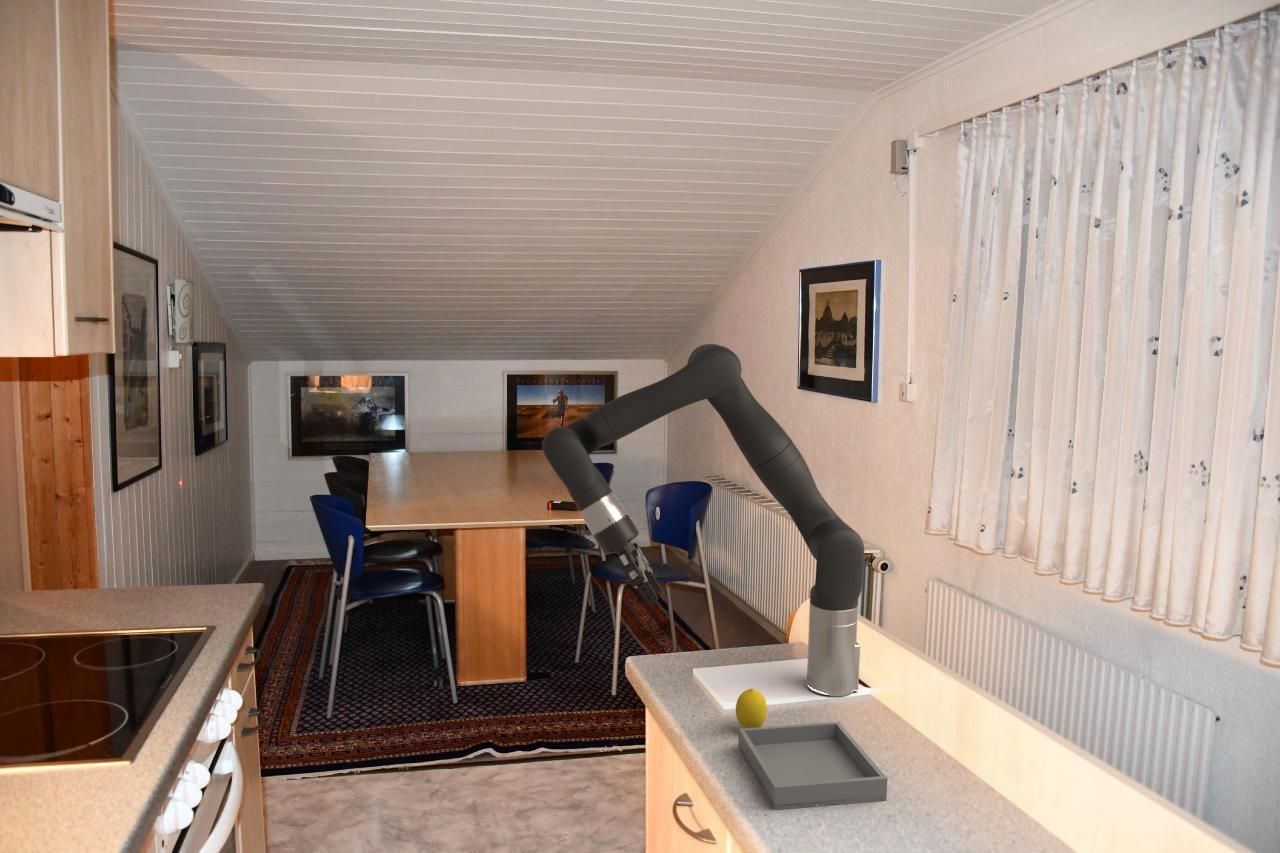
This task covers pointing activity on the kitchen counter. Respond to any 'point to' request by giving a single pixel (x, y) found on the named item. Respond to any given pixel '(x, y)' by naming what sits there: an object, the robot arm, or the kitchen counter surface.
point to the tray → (811, 765)
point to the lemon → (751, 709)
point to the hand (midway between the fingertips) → (655, 598)
